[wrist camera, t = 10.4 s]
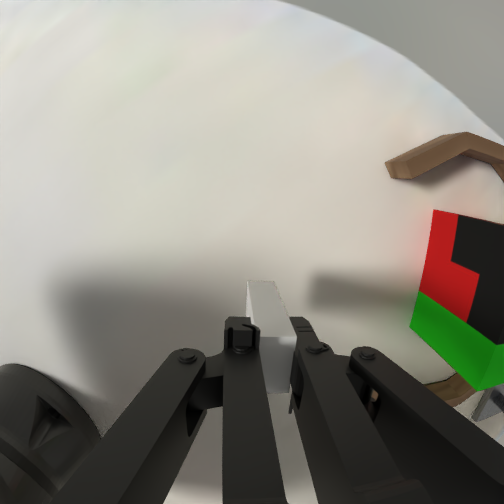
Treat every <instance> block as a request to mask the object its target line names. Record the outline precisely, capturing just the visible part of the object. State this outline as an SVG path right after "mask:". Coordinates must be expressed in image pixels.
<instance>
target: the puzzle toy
mask: <svg viewBox="0 0 504 504" xmlns="http://www.w3.org/2000/svg"><path fill="white" fill-rule="evenodd" d="M410 328H411V329H412V330H413V331H414V332H415V333H416V334H417V335H419V336H420V337H421V338H422V339H423V340H424V341H425V342H426V343H427V344H428V345H429V346H430V347H431V348H432V349H433V350H435V351H436V352H437V353H438V354H439V355H440V356H441V357H442V358H443V359H444V360H445V361H446V362H447V363H448V364H449V365H450V366H451V367H452V368H453V369H454V370H455V371H456V372H457V373H458V374H459V375H460V376H461V377H462V378H463V379H464V380H465V381H466V382H467V383H468V384H469V385H470V386H471V387H472V388H473V389H474V390H475V391H476V392H477V391H481V390H484V389H487V388H491V387H494V386H497V385H500V384H503V383H504V225H503V224H499V223H495V222H491V221H486V220H482V219H477V218H473V217H468V216H464V215H459V214H454V213H449V212H444V211H439V210H433V217H432V224H431V231H430V237H429V243H428V249H427V254H426V260H425V265H424V270H423V274H422V279H421V284H420V288H419V292H418V296H417V300H416V304H415V308H414V312H413V316H412V319H411V323H410Z"/></svg>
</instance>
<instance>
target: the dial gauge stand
mask: <svg viewBox="0 0 504 504" xmlns="http://www.w3.org/2000/svg"><path fill="white" fill-rule="evenodd" d="M499 412H503V413H504V383H503V384H500V385H497V386H494V387H491V388H487V389H486V390H485V392H484V394H483V396H482V398H481V400H480V402H479V404H478V406H477V408H476V410H475V412H474V414H473V416H472V418H473V419H474V420H475V422H478V421H481V420H483V419H486V418H488V417H490V416H493V415H495V414H497V413H499Z"/></svg>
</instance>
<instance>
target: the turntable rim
mask: <svg viewBox="0 0 504 504" xmlns="http://www.w3.org/2000/svg"><path fill="white" fill-rule="evenodd" d="M458 154H461V155H465V156H468V157H471V158H475V159H478V160H481V161H484V162H487V163H490V164H491V165H492V166H493V167H494V169H495V170H496V171H497V173H498V174H499V176H500V177H501V178H502V180H503V181H504V146H503V145H500V144H498V143H495V142H493V141H490V140H488V139H485V138H483V137H480V136H477V135H475V134H472V133H469V132H462V133H455V134H448V135H442V136H440V137H438V138H436V139H433V140H431V141H429V142H427V143H425V144H423V145H421V146H419V147H416V148H414V149H412V150H410V151H408V152H406V153H404V154H402V155H400V156H398V157H395V158H393V159H391V160H389V161H387V162H385V165H386V167H387V169H388V172H389V174H390V177H391V178H406V179H413V178H415V177H417V176H419V175H421V174H422V173H424V172H426V171H428V170H430V169H432V168H434V167H436V166H438V165H440V164H441V163H443V162H445V161H447V160H449V159H451V158H453V157H455V156H457V155H458ZM425 387H427V388H428V389H429V390H430V391H432V392H433V393H434V394H436V395H437V396H438V397H439V398H441V399H442V400H443V401H445V402H446V403H447V404H449V405H450V406H451V407H454V406H458V404H461V403H462V402H464V401H465V400H466V399H468V398H469V397H470V396H471V395H473V394H474V393H475V392H476V391H475V390H474V389H473V388H472V387H471V386H470V385H469V384H468V383H467V382H466V381H465V380H464V379H463V378H462V377H461V376H460V375H459V374H458V373H456V374H455V375H454V376H452V377H451V378H450V379H448V380H447V381H444V382H439V383H435V384H430V385H425ZM372 397H373V398H374V399H375V400H376V399H377V397H378V393H377V392H376V391H375V390H374V391H373V394H372Z"/></svg>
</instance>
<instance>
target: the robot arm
mask: <svg viewBox="0 0 504 504" xmlns="http://www.w3.org/2000/svg"><path fill="white" fill-rule="evenodd" d="M290 383H291V386H292V395H291V401H290V407H289V414H291V413H292V409H293V410H294V413H295V417H296V421H297V425H298V428H299V432H300V436H301V440H302V443H303V447H304V451H305V455H306V458H307V462H308V466H309V470H310V473H311V477H312V481H313V485H314V488H315V492H316V496H317V500H318V503H319V504H504V447H503V446H502V445H500V444H499V443H498V442H497V441H495V440H494V439H493V438H491V437H490V436H489V435H487V434H486V433H485V432H484V431H482V430H481V429H480V428H478V427H477V426H476V425H475V424H473V423H472V422H471V421H469V420H468V419H467V418H465V417H464V416H463V415H462V414H460V413H459V412H458V411H456V410H455V409H454V408H452V407H451V406H450V405H449V404H447V403H446V402H445V401H443V400H442V399H441V398H439V397H438V396H437V395H436V394H434V393H433V392H432V391H430V390H429V389H428V388H427V387H425V386H424V385H423V384H421V383H420V382H419V381H417V380H416V379H415V378H414V377H412V376H411V375H410V374H408V373H407V372H406V371H404V370H403V369H402V368H401V367H399V366H398V365H397V364H395V363H394V362H393V361H392V360H390V359H389V358H388V357H386V356H385V355H384V354H382V353H381V352H380V351H378V350H376V349H374V348H371V347H366V346H363V347H357V348H355V349H353V350H352V352H351V356H342V355H336V354H334V352H333V350H332V349H331V347H330V346H329V345H327V344H325V343H323V342H320V341H319V339H318V338H317V336H316V334H315V332H314V330H313V328H312V326H311V325H310V323H309V321H308V320H306V319H305V318H303V317H289V316H288V314H287V311H286V309H285V307H284V304H283V302H282V299H281V297H280V295H279V292H278V290H277V287H276V285H275V283H274V281H248V282H247V301H246V317H229V318H228V319H227V320H226V321H225V330H224V350H223V351H222V352H221V353H220V354H218V355H216V356H213V357H207V358H206V357H205V355H204V354H203V353H202V352H200V351H199V350H195V349H189V348H185V349H184V348H183V349H179V350H176V351H174V352H172V353H171V354H170V355H169V356H168V358H167V359H166V360H165V361H164V363H163V364H162V365H161V366H160V368H159V369H158V370H157V371H156V372H155V374H154V375H153V376H152V377H151V379H150V380H149V381H148V382H147V384H146V385H145V386H144V387H143V388H142V390H141V391H140V392H139V393H138V395H137V396H136V397H135V398H134V400H133V401H132V402H131V403H130V405H129V406H128V407H127V408H126V409H125V411H124V412H123V413H122V414H121V416H120V417H119V418H118V419H117V421H116V422H115V423H114V424H113V425H112V427H111V428H110V429H109V430H108V432H107V433H106V434H105V435H104V437H103V438H102V439H101V438H100V435H99V433H98V431H97V429H96V427H95V425H94V424H93V422H92V421H91V419H90V418H89V416H88V415H87V414H86V413H85V411H84V410H83V409H82V408H81V407H80V406H79V405H78V404H77V402H76V401H75V400H74V399H72V398H71V397H70V396H69V395H68V394H67V393H66V392H65V391H64V390H62V389H61V388H60V387H59V386H57V385H56V384H55V383H53V382H52V381H51V380H49V379H48V378H46V377H45V376H43V375H41V374H40V373H38V372H36V371H34V370H32V369H30V368H27V367H25V366H21V365H17V364H5V365H2V366H0V504H163V503H164V501H165V499H166V497H167V495H168V492H169V490H170V488H171V486H172V484H173V482H174V480H175V478H176V476H177V474H178V472H179V470H180V468H181V466H182V464H183V462H184V460H185V458H186V456H187V454H188V452H189V449H190V447H191V445H192V443H193V441H194V439H195V437H196V435H197V433H198V431H199V429H200V426H201V424H202V422H203V420H204V418H205V416H206V413H207V409H210V408H215V407H221V406H223V447H222V486H223V504H288V503H287V501H286V497H285V491H284V486H283V480H282V475H281V470H280V464H279V459H278V453H277V448H276V442H275V437H274V431H273V425H272V420H271V414H270V409H269V403H268V397H267V393H289V389H290ZM374 390H375V391H376V392H377V393H378V397H377V399H376V400H375V399H374V398H373V397H372V394H373V391H374Z"/></svg>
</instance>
